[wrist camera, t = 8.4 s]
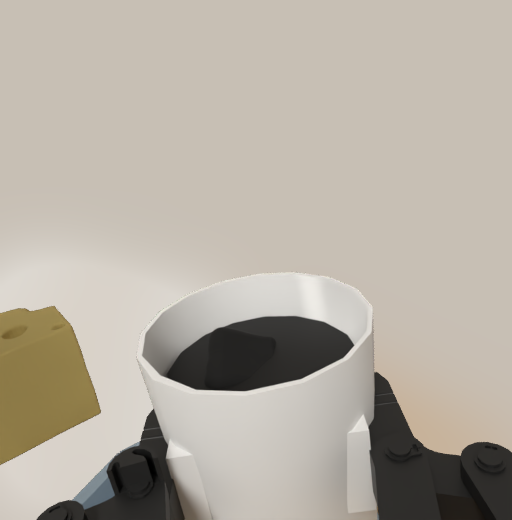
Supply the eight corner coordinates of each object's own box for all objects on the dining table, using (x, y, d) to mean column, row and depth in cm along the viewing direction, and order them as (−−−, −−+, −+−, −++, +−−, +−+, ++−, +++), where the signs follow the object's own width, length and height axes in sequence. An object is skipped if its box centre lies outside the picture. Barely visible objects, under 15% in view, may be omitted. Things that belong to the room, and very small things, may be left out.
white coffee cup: (189, 677, 14) (99, 410, 11) (217, 494, 21) (165, 285, 17) (416, 669, 14) (400, 380, 10) (373, 482, 20) (355, 262, 16)
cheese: (77, 371, 54) (48, 291, 50) (107, 416, 45) (76, 324, 42) (-24, 416, 49) (-64, 332, 45) (-11, 477, 40) (-58, 378, 37)
